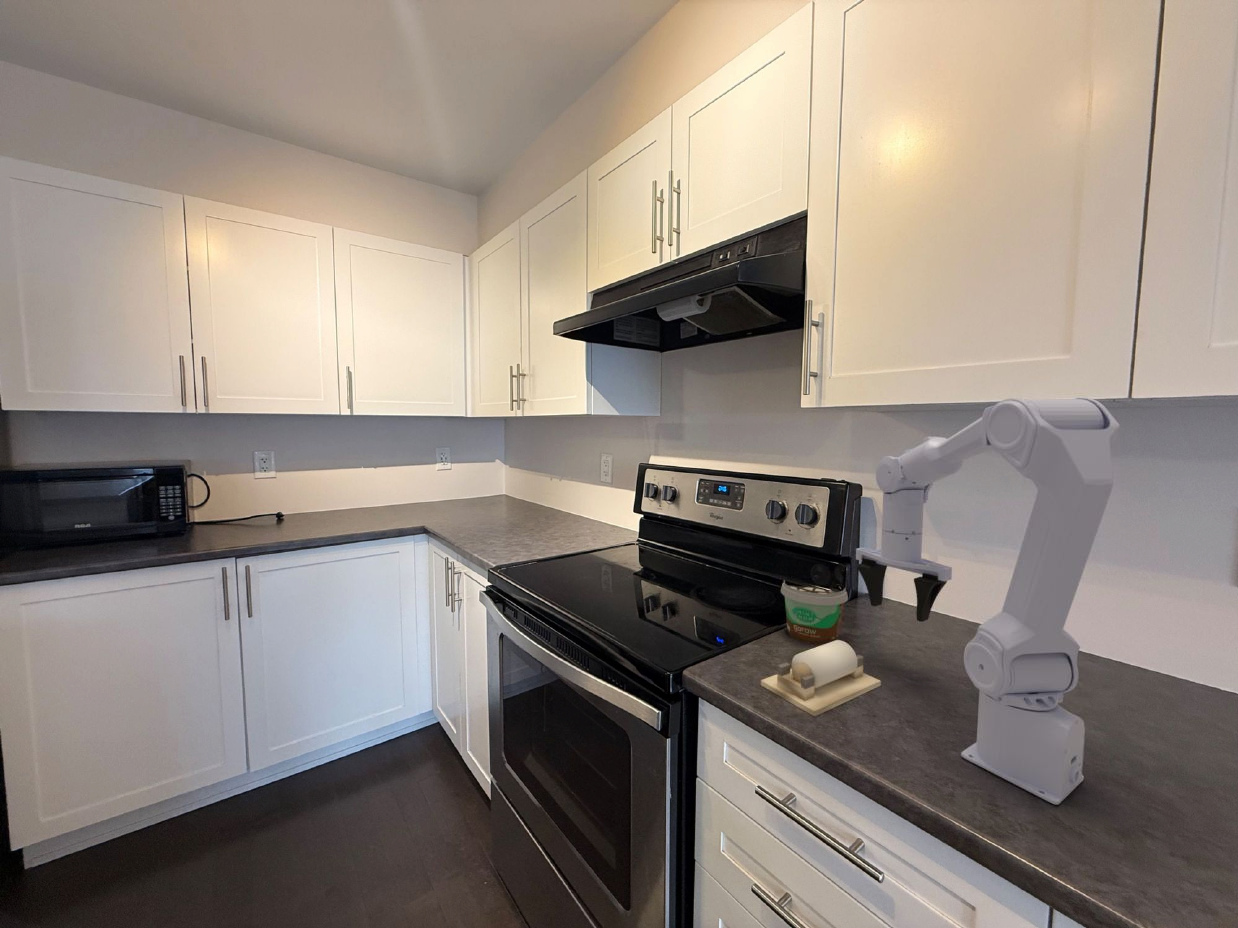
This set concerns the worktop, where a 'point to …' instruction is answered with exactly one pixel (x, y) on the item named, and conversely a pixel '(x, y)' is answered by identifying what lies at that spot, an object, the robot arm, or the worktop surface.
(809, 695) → the cradle
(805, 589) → the food container
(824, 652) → the white cylinder with cap
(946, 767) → the worktop surface
